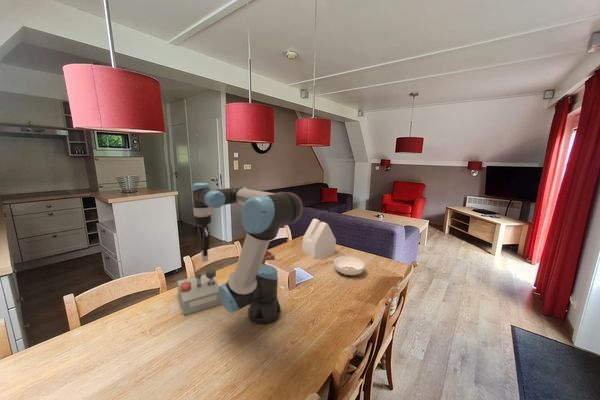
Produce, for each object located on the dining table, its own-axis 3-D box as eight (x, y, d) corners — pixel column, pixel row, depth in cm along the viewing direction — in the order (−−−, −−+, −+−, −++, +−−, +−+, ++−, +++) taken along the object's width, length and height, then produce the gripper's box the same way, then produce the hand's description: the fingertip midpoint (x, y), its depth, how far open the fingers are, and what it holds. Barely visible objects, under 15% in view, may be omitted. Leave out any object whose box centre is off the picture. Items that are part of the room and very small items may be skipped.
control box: (222, 304, 119) (221, 291, 118) (184, 315, 110) (183, 301, 108) (211, 284, 135) (211, 273, 134) (178, 293, 126) (177, 281, 125)
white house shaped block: (314, 259, 172) (316, 225, 167) (302, 251, 185) (303, 220, 180) (334, 254, 183) (337, 222, 178) (322, 247, 195) (324, 217, 190)
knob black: (217, 288, 124) (216, 272, 123) (207, 290, 122) (207, 274, 120) (215, 283, 128) (214, 268, 126) (205, 286, 126) (204, 270, 124)
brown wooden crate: (274, 262, 166) (274, 255, 165) (251, 267, 156) (251, 260, 155) (268, 256, 174) (268, 250, 173) (245, 261, 164) (245, 254, 163)
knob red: (192, 302, 119) (191, 285, 117) (182, 305, 116) (180, 288, 114) (191, 297, 123) (190, 280, 121) (180, 299, 120) (179, 283, 118)
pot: (202, 286, 121) (201, 275, 120) (196, 287, 119) (196, 277, 118) (201, 284, 123) (200, 273, 122) (195, 285, 122) (195, 274, 120)
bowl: (367, 270, 159) (368, 261, 158) (357, 282, 143) (358, 273, 142) (340, 262, 169) (340, 253, 168) (328, 273, 153) (328, 264, 152)
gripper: (214, 217, 113) (216, 264, 117) (206, 211, 123) (209, 255, 127) (197, 219, 108) (200, 268, 113) (191, 213, 119) (193, 258, 123)
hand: (205, 261), depth 120 cm, fingers closed
